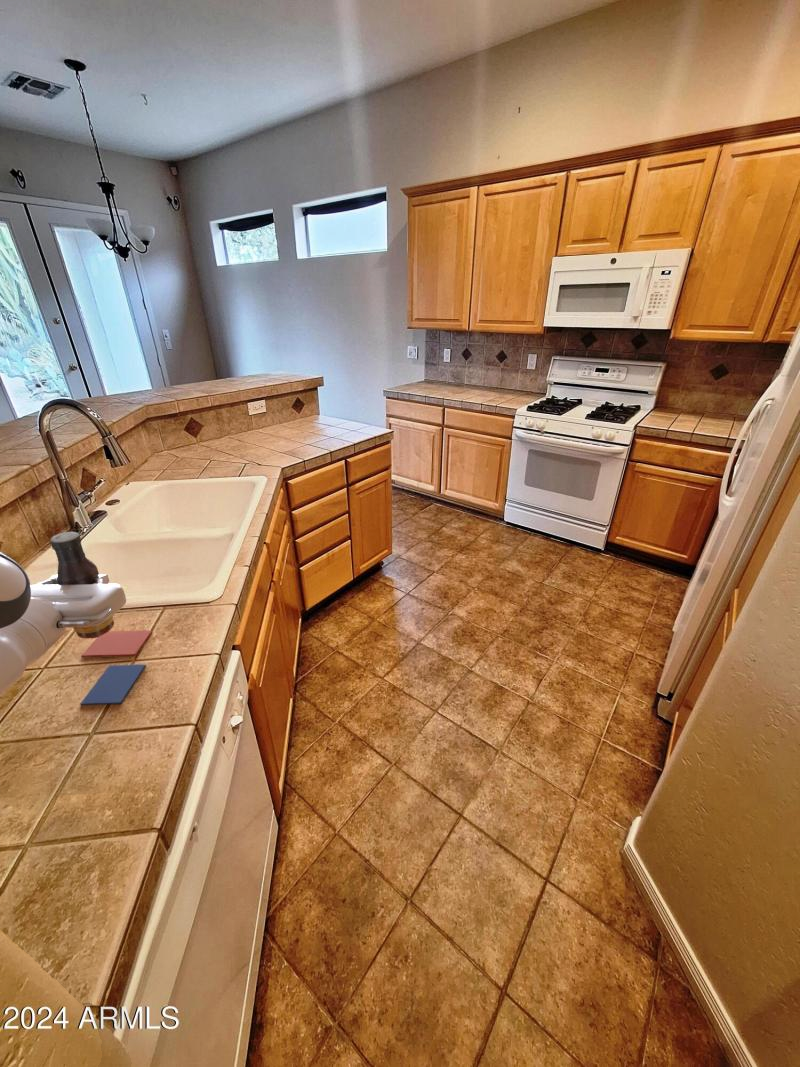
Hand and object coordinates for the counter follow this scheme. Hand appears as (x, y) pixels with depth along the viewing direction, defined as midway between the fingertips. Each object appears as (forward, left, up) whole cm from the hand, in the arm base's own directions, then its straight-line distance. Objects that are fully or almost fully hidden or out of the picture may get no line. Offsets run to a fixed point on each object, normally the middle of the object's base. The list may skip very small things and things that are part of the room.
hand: (82, 578), depth 77 cm
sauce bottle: (0, -1, -11) cm, 11 cm away
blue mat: (+6, -9, -17) cm, 20 cm away
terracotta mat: (+1, +2, -17) cm, 17 cm away
